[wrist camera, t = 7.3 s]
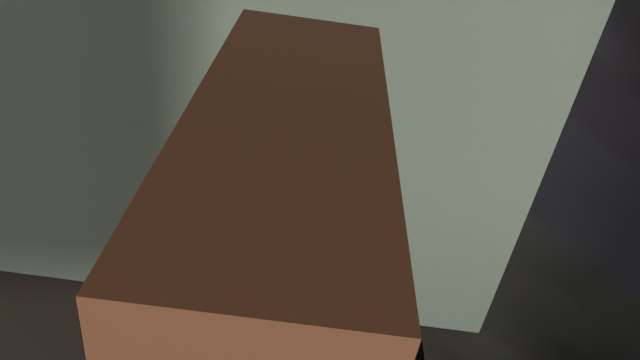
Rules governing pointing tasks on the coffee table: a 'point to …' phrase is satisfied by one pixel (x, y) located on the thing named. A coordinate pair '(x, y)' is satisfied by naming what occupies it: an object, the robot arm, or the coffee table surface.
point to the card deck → (266, 213)
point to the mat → (193, 63)
